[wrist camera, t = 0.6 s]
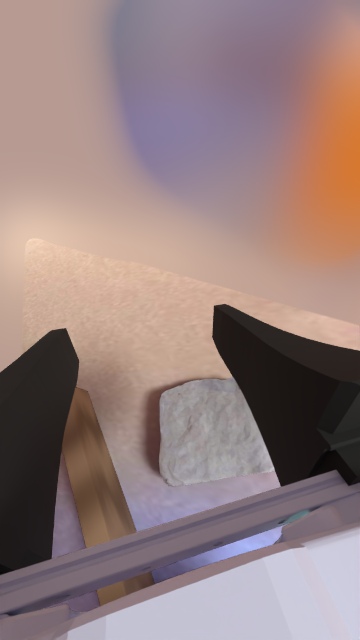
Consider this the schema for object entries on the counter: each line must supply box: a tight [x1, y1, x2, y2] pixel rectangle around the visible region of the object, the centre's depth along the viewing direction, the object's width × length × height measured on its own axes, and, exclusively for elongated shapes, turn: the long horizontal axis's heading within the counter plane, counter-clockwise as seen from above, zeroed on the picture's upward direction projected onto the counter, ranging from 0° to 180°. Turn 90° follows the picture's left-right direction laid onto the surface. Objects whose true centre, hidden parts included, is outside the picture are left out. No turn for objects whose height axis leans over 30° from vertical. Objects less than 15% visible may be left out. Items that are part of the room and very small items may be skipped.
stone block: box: [159, 377, 275, 487], centre depth 24 cm, size 12×5×10 cm
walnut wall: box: [62, 387, 155, 606], centre depth 21 cm, size 24×2×5 cm, turn 32°
